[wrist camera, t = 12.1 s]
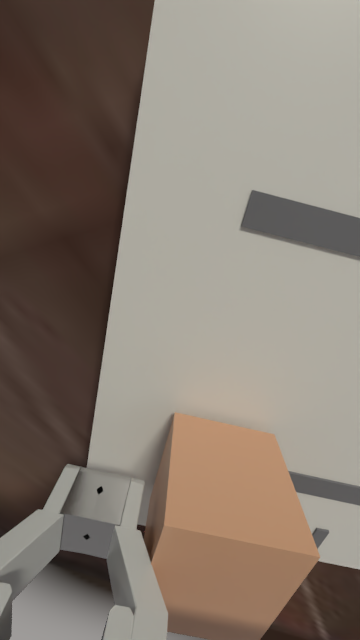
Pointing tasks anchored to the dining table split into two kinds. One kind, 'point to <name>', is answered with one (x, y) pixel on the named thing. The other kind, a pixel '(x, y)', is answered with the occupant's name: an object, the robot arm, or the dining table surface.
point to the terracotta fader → (225, 530)
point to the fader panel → (244, 250)
